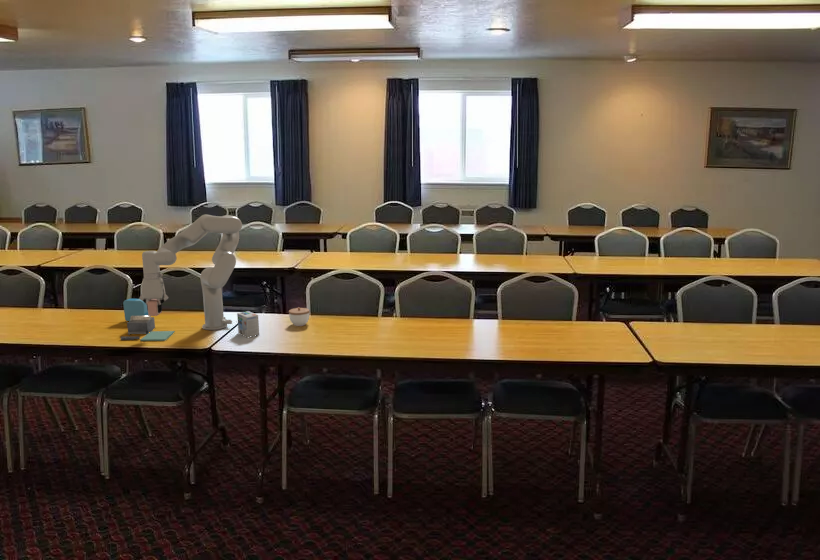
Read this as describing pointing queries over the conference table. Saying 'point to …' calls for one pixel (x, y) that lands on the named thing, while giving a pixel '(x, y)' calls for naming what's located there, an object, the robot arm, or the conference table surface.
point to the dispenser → (139, 326)
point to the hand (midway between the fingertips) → (155, 311)
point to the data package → (134, 308)
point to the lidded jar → (299, 316)
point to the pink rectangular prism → (153, 307)
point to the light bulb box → (248, 324)
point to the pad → (157, 336)
